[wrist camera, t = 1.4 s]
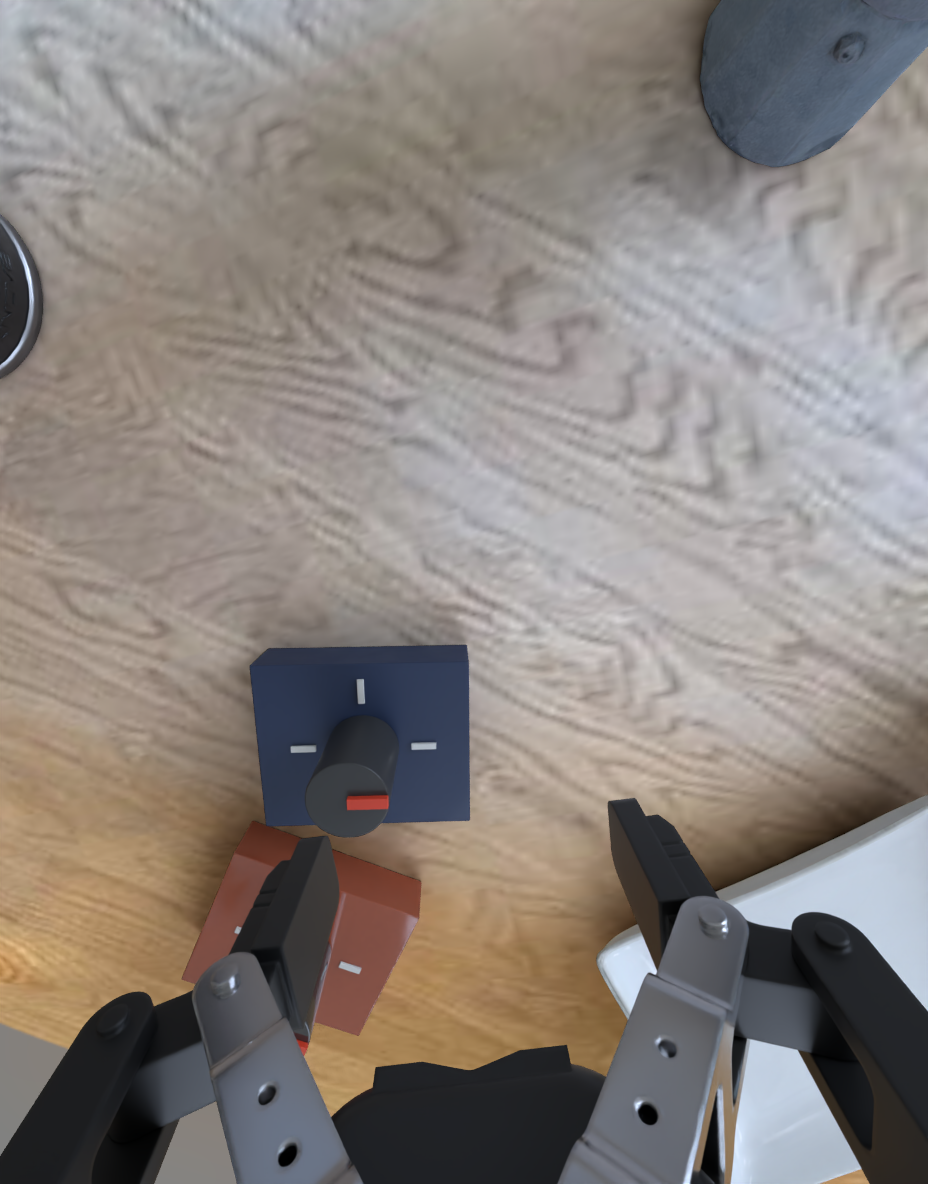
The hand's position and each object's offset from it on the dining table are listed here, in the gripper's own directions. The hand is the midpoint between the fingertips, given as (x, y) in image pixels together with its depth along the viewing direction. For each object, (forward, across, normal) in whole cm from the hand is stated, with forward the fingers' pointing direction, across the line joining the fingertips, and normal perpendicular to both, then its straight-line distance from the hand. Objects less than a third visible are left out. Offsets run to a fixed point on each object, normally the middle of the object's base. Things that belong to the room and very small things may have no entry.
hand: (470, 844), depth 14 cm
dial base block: (+17, +13, +17) cm, 27 cm away
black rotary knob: (+14, +6, +4) cm, 16 cm away
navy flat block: (+17, +6, +4) cm, 18 cm away
